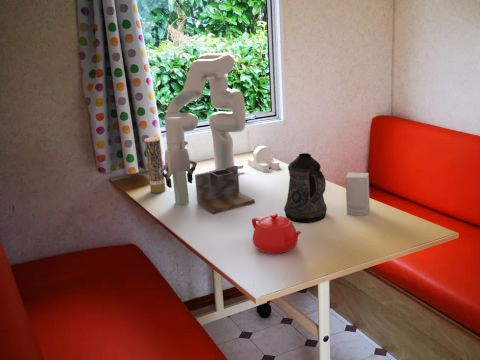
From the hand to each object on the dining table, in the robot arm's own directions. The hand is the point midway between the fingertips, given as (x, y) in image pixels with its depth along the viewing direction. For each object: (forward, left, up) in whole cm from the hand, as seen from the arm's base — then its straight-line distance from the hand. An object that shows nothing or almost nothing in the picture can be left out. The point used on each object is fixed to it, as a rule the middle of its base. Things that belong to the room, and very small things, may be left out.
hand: (179, 184), depth 238 cm
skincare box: (-49, +57, -9) cm, 76 cm away
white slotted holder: (-57, -22, -9) cm, 61 cm away
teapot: (-6, +64, -9) cm, 65 cm away
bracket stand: (-14, +14, -8) cm, 22 cm away
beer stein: (-32, +48, -9) cm, 58 cm away
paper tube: (+2, -22, -9) cm, 24 cm away
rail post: (0, 0, -8) cm, 8 cm away
